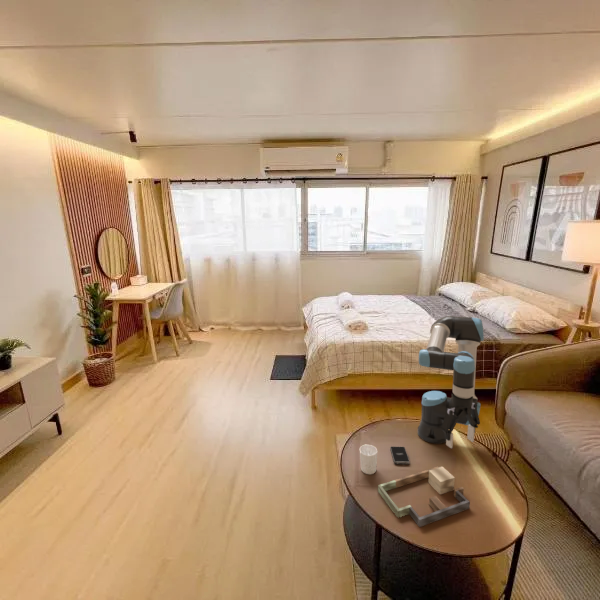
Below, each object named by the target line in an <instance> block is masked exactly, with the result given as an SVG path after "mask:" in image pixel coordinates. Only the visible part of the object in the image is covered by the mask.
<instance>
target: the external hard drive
mask: <svg viewBox="0 0 600 600" xmlns="http://www.w3.org/2000/svg"><path fill="white" fill-rule="evenodd" d="M389 448H390V453H391V457H392V460H393V464H394V465H402V466H403V465H405V466H406V465H410V459H409V456H408V453H407V452H408V451H407V449H406V447H405V446H396V445H395V446H392V445H391V446H390V447H389Z"/></svg>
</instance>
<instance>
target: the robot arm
mask: <svg viewBox="0 0 600 600" xmlns="http://www.w3.org/2000/svg"><path fill="white" fill-rule="evenodd" d="M483 324H484V323H483V321H482V319H481V318H479V317H478V318H477V317H473V316H470V317H469V316H468V317H467V316H452V315H450V316H447V315H446V316H444V317H441V318H439V319H437V320H436V321H434V322H433V323H432V325H431V326H430V331H429V333H430V336H429V340H428V342H427V345H426V349H420V350H419V352H418V365H419V366H421V367H426V368H432V369H440V370H446V371H447V370H448V371H452V393H451V397H448V396H447V393H445V392H443V391H440V390H431V391H430V390H429V391H427V392H424V393H423V395H422V397H421V418H420V419H421V420H420V422H419V425H418V427H417V435H418V436H419V438H420V439H422V440H423V441H425V442H428V443H430V444H435V445H436V444H437V445H438V444H440V445H441V444H444V443H445V445H446V446H447V447H448V448H450V449H453V440H454V433H453V431H454V429H455V427H456V424H459V425H464V426H467V436H466V438H467V440H469V441H470V442H471V443H473V442H475V433H476V429H478V428H479V426H478V425H481V422H480V417H479V415H480V411H481V406H482V405H481V403H480V402H479V401H478V397H477V396H476V394H475V390H476V389H475V387H476V369H477V367H476V366H477V353H478V352H477V351H478V350H477V348H478V346H480V345H481V342H483V341H484V340H485V335H484V326H483ZM448 338H449V339H450V338H451V339H455V340H454V341H455V344H457V352H451V351H450V352H447V351H445V347H446V343H447V339H448Z"/></svg>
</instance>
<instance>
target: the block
mask: <svg viewBox="0 0 600 600" xmlns="http://www.w3.org/2000/svg"><path fill="white" fill-rule="evenodd" d="M455 478H456V477H455V476H454V475H453V474H452V473H450V472H449V470H447V469H446V468H445V467H444V466H440V467H439V468H436V469H432V470H429V477H428V484H429V485H430V486H431V487H432V488H433V490H435V491H436V492H437V493H438V494H439V495H444V494H446V493H449V492H452V491H454V489H455V480H456V479H455Z"/></svg>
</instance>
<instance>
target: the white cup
mask: <svg viewBox="0 0 600 600" xmlns="http://www.w3.org/2000/svg"><path fill="white" fill-rule="evenodd" d="M358 449H359V460H360V461H359V462H360V469H361V472H363V474H365V475H373V474H374V473H376V471H377V465H378V464H377V462H378V449H377V447H376V446H374V445H373V444H363V445H360V447H359V448H358Z"/></svg>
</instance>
